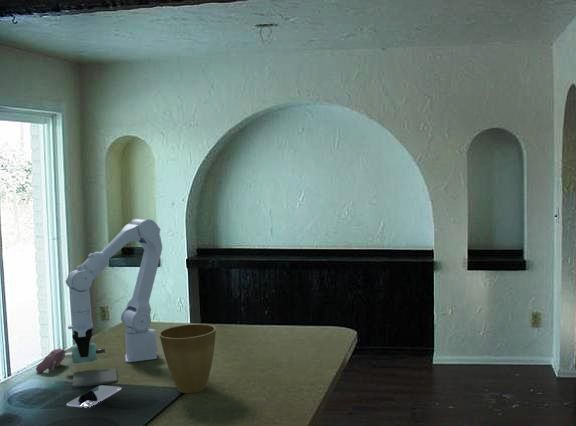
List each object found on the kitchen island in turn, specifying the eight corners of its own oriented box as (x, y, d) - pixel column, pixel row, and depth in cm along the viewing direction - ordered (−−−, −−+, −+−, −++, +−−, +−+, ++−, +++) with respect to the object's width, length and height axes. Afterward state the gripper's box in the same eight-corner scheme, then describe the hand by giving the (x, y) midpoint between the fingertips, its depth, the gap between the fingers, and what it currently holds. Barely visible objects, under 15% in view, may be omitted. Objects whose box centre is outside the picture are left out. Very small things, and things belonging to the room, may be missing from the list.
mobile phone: (123, 386, 181) (89, 405, 167) (123, 389, 181) (89, 409, 167) (99, 384, 183) (64, 403, 169) (100, 387, 183) (64, 407, 169)
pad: (116, 369, 198) (116, 368, 198) (117, 382, 186) (116, 380, 186) (74, 375, 194) (74, 373, 194) (72, 387, 183) (72, 385, 183)
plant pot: (211, 376, 187) (208, 321, 186) (225, 392, 173) (221, 332, 172) (158, 385, 182) (155, 327, 181) (168, 402, 168) (164, 340, 167)
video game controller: (46, 378, 198) (54, 358, 197) (33, 371, 198) (41, 351, 197) (63, 368, 207) (71, 348, 206) (51, 361, 208) (59, 342, 207)
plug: (105, 356, 202) (104, 341, 202) (105, 359, 199) (104, 345, 198) (66, 361, 199) (65, 346, 199) (65, 364, 196) (64, 349, 195)
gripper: (68, 306, 204) (71, 350, 205) (65, 316, 190) (69, 363, 191) (92, 304, 206) (95, 347, 207) (91, 314, 192) (94, 360, 193)
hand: (84, 354), depth 199 cm, fingers closed on plug, 4 cm apart
